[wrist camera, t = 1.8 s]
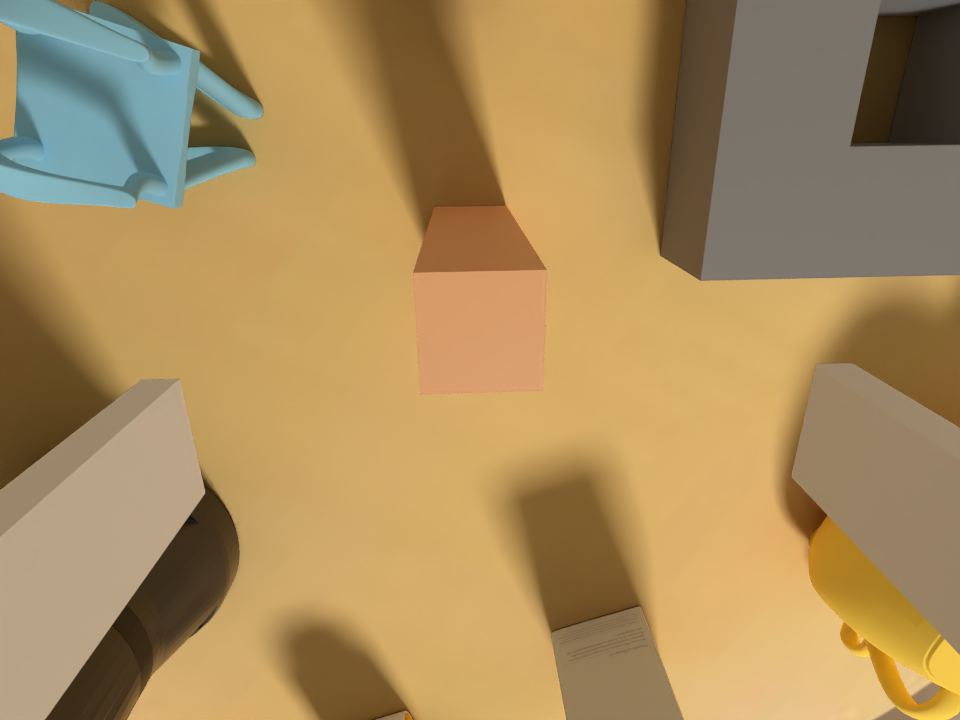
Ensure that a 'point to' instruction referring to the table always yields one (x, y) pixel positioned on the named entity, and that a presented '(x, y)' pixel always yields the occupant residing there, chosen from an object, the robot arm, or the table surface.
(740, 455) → the table surface
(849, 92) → the hole block
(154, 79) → the blue tall openwork piece
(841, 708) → the table surface
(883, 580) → the teapot
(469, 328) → the tall pin
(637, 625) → the supplement box
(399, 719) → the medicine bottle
